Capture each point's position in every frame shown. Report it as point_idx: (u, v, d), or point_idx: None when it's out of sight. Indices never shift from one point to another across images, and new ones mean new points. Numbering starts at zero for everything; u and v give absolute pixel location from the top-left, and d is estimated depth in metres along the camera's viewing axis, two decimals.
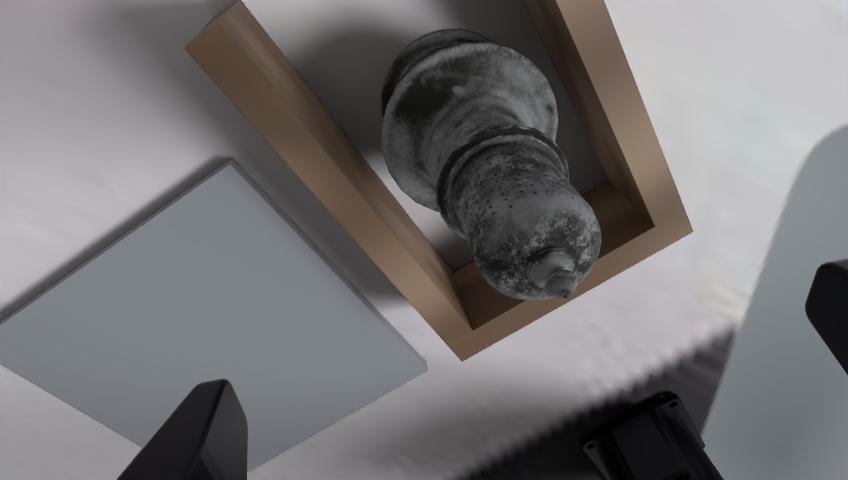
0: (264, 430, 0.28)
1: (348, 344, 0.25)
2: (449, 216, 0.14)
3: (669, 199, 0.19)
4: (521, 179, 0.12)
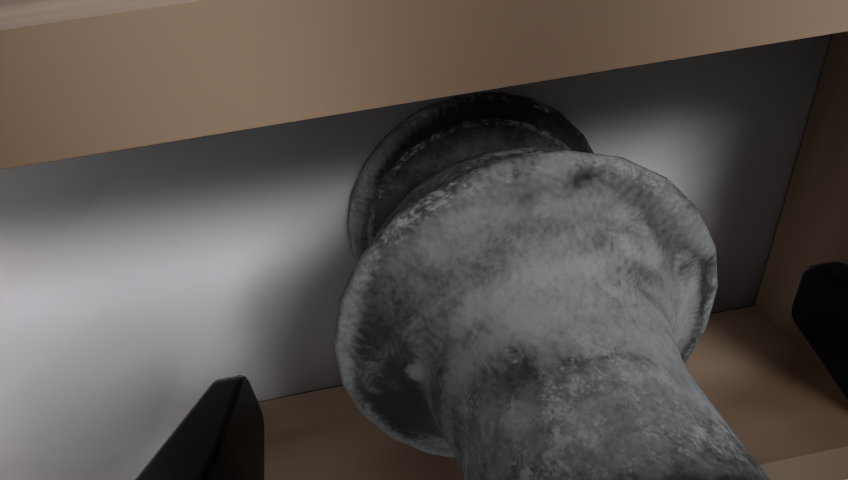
0: None
1: None
2: None
3: None
4: None
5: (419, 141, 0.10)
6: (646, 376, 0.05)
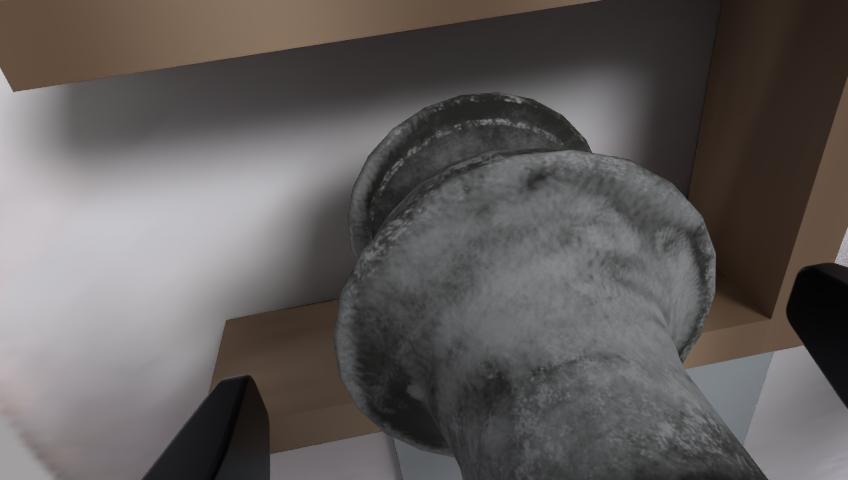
0: None
1: None
2: None
3: None
4: None
5: (398, 158, 0.10)
6: (614, 376, 0.05)
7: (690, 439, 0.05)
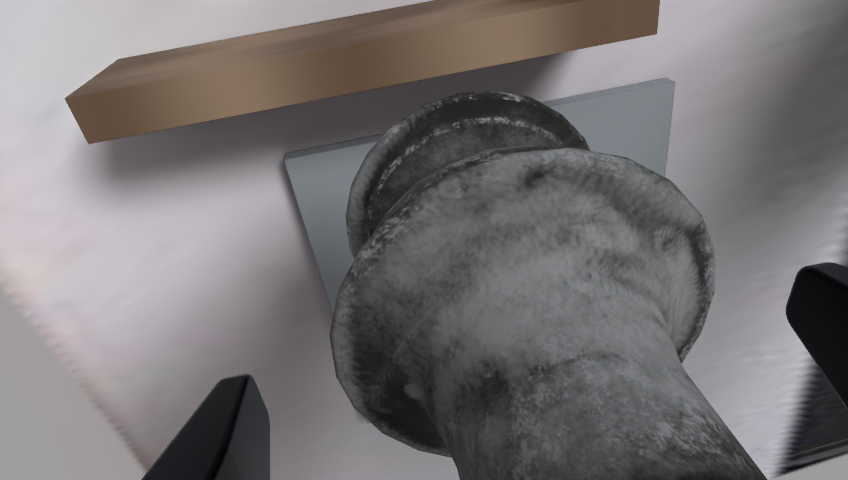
0: None
1: None
2: None
3: None
4: None
5: (395, 157, 0.10)
6: (612, 375, 0.05)
7: (689, 439, 0.05)
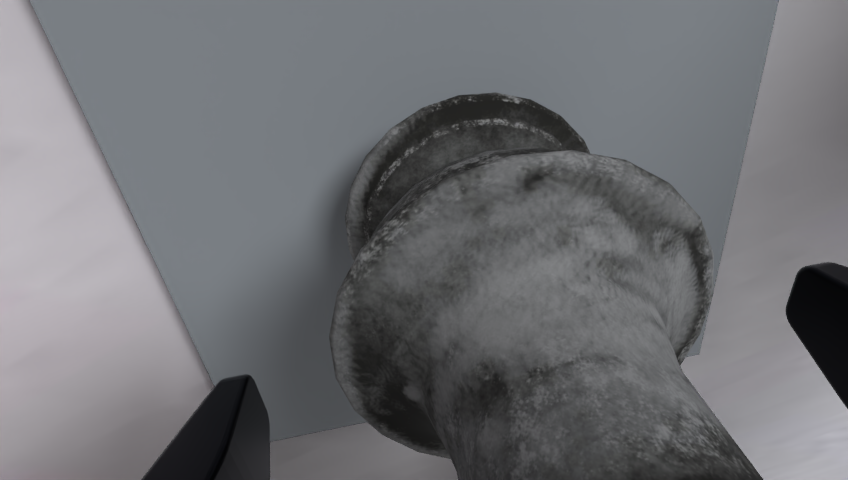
0: None
1: None
2: None
3: None
4: None
5: (394, 159, 0.10)
6: (611, 377, 0.05)
7: (687, 441, 0.05)
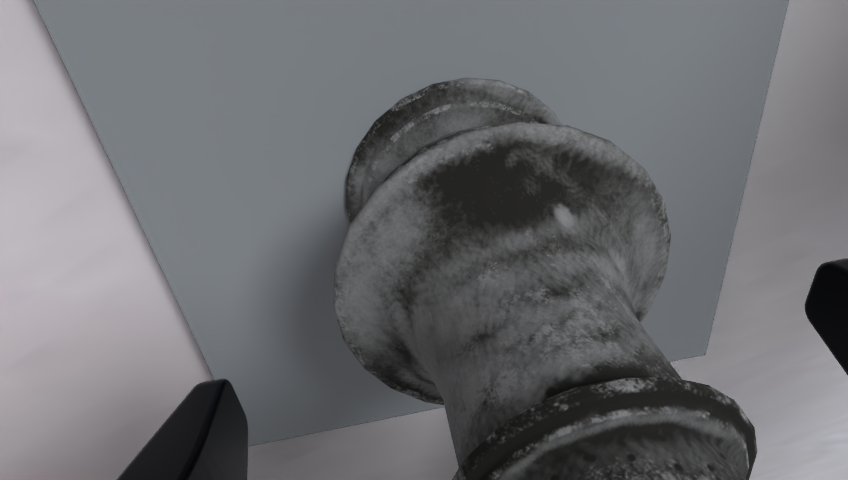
0: None
1: None
2: None
3: None
4: None
5: None
6: None
7: None
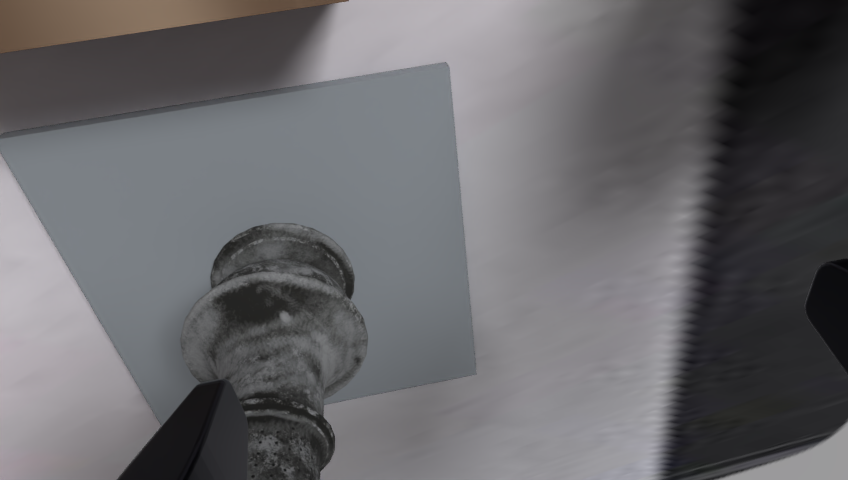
0: (420, 294, 0.22)
1: (337, 146, 0.18)
2: None
3: None
4: None
5: (338, 264, 0.20)
6: None
7: None
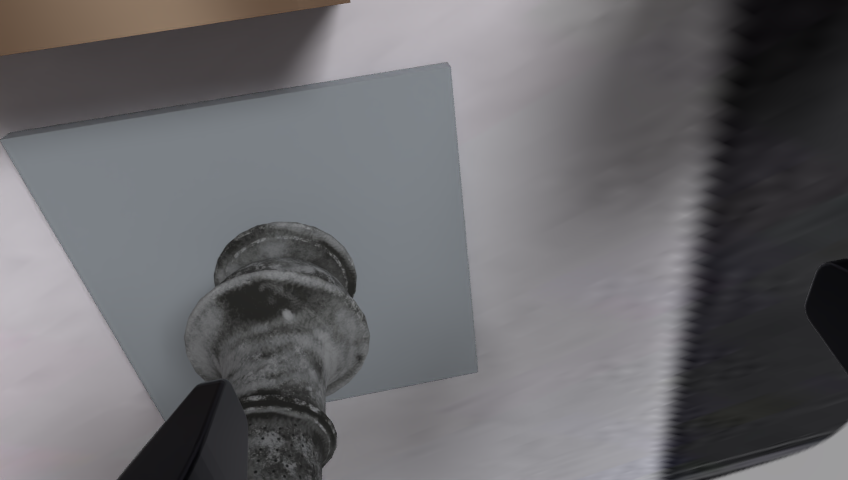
0: (422, 293, 0.22)
1: (339, 146, 0.18)
2: None
3: None
4: None
5: (341, 262, 0.20)
6: None
7: None
